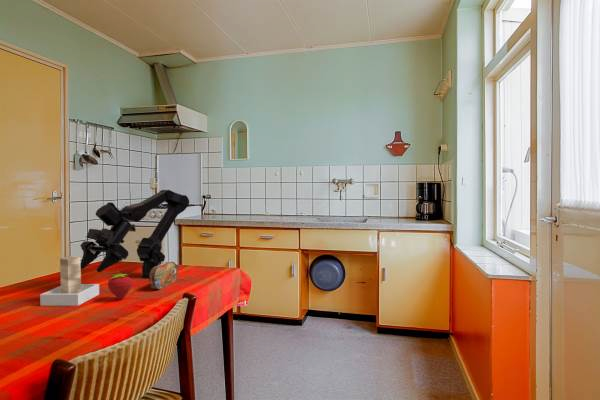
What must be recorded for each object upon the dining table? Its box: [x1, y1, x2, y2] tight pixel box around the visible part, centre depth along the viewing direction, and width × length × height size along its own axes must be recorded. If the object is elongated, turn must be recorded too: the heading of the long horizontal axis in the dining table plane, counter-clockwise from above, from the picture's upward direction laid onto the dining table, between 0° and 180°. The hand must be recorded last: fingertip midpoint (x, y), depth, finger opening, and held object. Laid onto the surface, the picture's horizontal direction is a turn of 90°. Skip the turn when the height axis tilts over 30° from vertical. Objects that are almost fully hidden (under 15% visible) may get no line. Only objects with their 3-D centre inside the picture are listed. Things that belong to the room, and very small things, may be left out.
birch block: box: [59, 255, 82, 294], centre depth 114 cm, size 4×4×13 cm
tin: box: [148, 261, 179, 290], centre depth 131 cm, size 15×3×8 cm, turn 168°
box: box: [39, 283, 100, 307], centre depth 115 cm, size 12×12×4 cm
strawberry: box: [107, 271, 134, 301], centre depth 115 cm, size 6×8×10 cm
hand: (88, 270), depth 120 cm, fingers open, 9 cm apart
